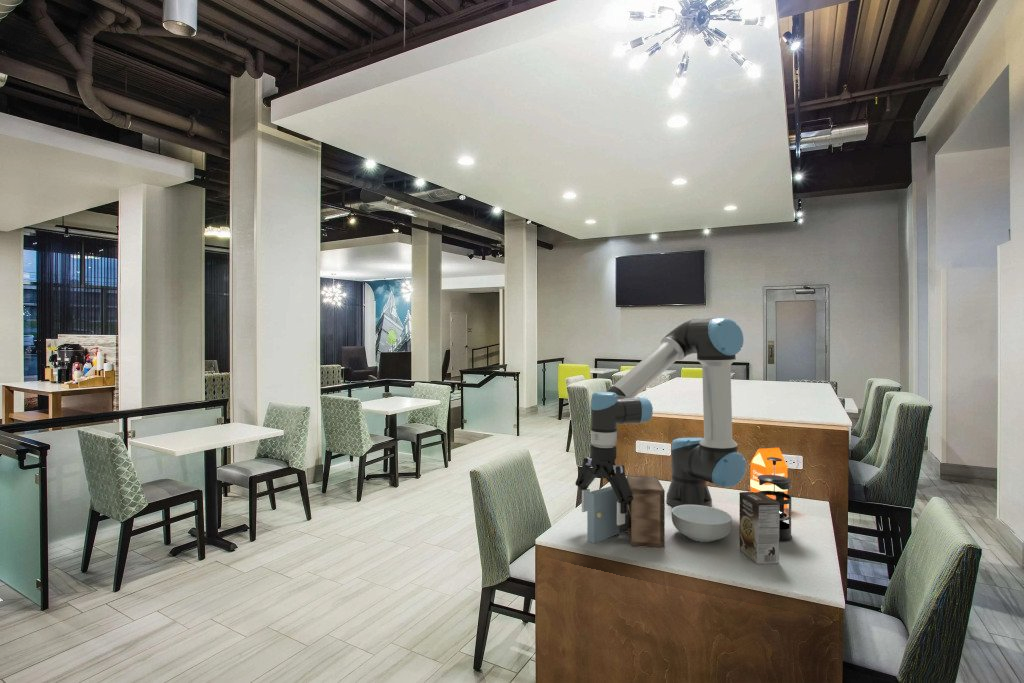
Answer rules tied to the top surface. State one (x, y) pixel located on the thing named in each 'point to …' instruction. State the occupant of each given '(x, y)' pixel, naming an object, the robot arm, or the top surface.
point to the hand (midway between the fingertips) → (602, 517)
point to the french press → (779, 499)
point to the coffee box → (759, 527)
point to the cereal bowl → (701, 522)
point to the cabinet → (645, 512)
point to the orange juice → (767, 470)
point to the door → (601, 514)
